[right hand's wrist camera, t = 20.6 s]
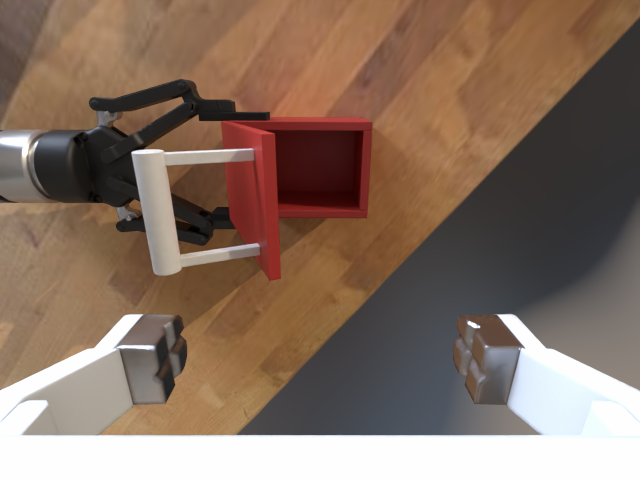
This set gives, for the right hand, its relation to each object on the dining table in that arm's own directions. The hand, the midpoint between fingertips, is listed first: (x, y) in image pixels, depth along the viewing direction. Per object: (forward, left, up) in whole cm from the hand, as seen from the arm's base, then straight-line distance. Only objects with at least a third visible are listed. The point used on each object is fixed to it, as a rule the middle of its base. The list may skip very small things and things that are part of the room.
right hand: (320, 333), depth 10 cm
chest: (-1, -2, -36) cm, 36 cm away
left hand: (-2, -5, -29) cm, 29 cm away
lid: (-2, -5, -19) cm, 20 cm away
